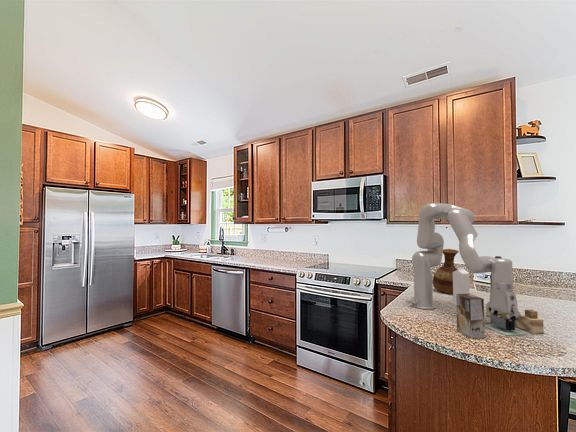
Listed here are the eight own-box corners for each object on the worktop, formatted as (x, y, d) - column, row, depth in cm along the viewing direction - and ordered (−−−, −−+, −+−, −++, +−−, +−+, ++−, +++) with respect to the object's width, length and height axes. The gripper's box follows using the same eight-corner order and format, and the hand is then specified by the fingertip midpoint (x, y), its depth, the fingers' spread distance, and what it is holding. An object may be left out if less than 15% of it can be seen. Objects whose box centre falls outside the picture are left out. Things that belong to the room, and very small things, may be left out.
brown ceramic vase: (434, 293, 190) (433, 249, 191) (431, 287, 208) (430, 247, 209) (468, 296, 182) (467, 250, 183) (462, 290, 201) (461, 248, 202)
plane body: (544, 333, 120) (543, 312, 121) (533, 334, 120) (532, 313, 120) (495, 315, 144) (495, 298, 144) (486, 316, 143) (485, 298, 144)
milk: (469, 305, 162) (469, 267, 163) (462, 307, 160) (462, 268, 160) (459, 303, 168) (459, 266, 168) (452, 304, 165) (452, 266, 166)
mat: (506, 335, 118) (506, 334, 118) (483, 325, 130) (483, 324, 130) (525, 334, 119) (525, 333, 119) (500, 324, 131) (500, 323, 131)
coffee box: (485, 338, 116) (485, 298, 116) (471, 338, 115) (470, 299, 116) (469, 329, 125) (468, 293, 125) (455, 330, 124) (455, 293, 125)
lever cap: (501, 322, 128) (501, 312, 129) (516, 328, 121) (516, 317, 122) (490, 323, 128) (490, 313, 128) (504, 328, 121) (503, 318, 121)
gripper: (528, 290, 117) (529, 333, 116) (492, 282, 134) (493, 319, 134) (512, 291, 116) (513, 334, 115) (478, 282, 133) (479, 320, 133)
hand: (502, 326), depth 125 cm, fingers closed on lever cap, 7 cm apart
